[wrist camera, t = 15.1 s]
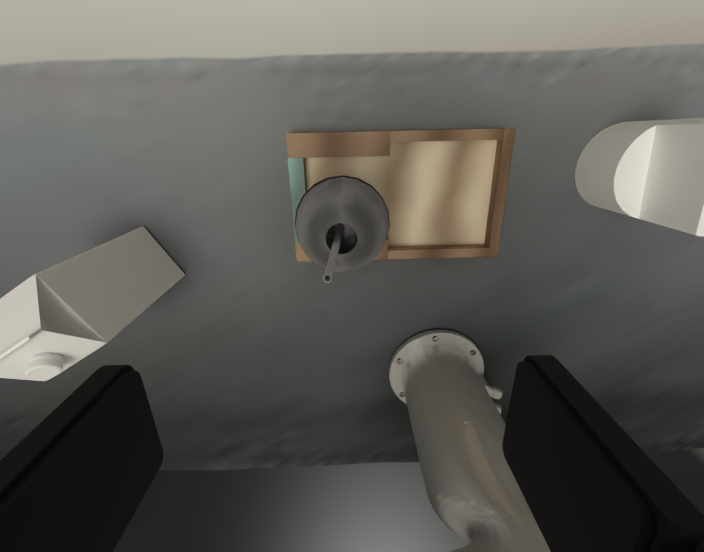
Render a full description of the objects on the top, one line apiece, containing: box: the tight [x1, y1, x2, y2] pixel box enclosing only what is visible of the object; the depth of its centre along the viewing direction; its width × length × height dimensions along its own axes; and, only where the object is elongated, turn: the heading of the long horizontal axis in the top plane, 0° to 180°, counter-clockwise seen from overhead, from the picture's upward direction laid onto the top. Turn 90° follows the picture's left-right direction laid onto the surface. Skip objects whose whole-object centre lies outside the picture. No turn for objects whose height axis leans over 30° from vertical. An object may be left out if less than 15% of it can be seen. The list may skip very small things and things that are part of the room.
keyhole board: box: [286, 128, 515, 261], centre depth 37 cm, size 22×13×3 cm, turn 91°
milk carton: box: [0, 226, 185, 381], centre depth 33 cm, size 7×7×19 cm
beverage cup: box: [295, 175, 390, 283], centre depth 28 cm, size 7×7×20 cm
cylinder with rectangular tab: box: [575, 118, 704, 236], centre depth 32 cm, size 9×9×12 cm
